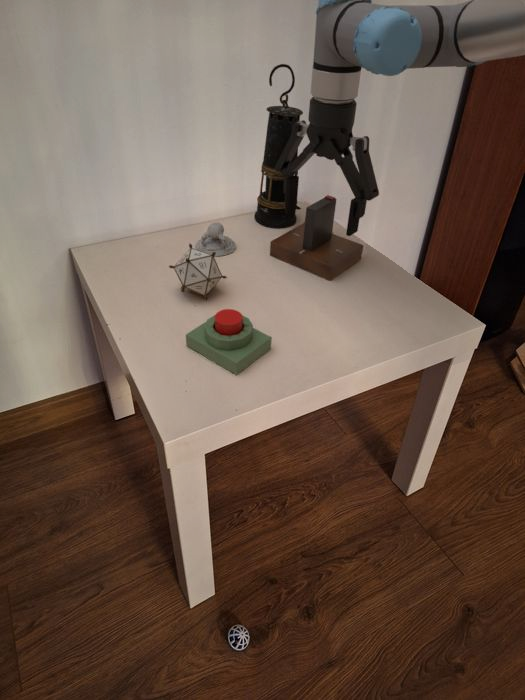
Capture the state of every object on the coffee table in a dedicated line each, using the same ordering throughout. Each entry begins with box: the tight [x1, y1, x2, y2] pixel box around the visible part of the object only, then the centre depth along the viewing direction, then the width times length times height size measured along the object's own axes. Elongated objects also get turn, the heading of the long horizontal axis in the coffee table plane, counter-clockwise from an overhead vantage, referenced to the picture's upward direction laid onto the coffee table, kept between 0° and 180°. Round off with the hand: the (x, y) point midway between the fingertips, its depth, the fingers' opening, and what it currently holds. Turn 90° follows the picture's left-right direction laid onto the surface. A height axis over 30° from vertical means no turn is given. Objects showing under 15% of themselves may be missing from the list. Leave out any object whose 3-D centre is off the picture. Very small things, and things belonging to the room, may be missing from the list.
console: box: [269, 222, 364, 282], centre depth 102 cm, size 14×11×3 cm
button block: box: [185, 314, 272, 376], centre depth 79 cm, size 10×8×4 cm
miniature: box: [194, 222, 237, 257], centre depth 103 cm, size 8×8×5 cm
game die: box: [168, 242, 228, 302], centre depth 89 cm, size 9×8×10 cm
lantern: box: [254, 63, 304, 229], centre depth 106 cm, size 9×9×30 cm
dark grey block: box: [303, 194, 337, 251], centre depth 98 cm, size 7×2×8 cm, turn 142°
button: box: [214, 308, 243, 336], centre depth 77 cm, size 4×4×2 cm
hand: (320, 222), depth 98 cm, fingers open, 13 cm apart
